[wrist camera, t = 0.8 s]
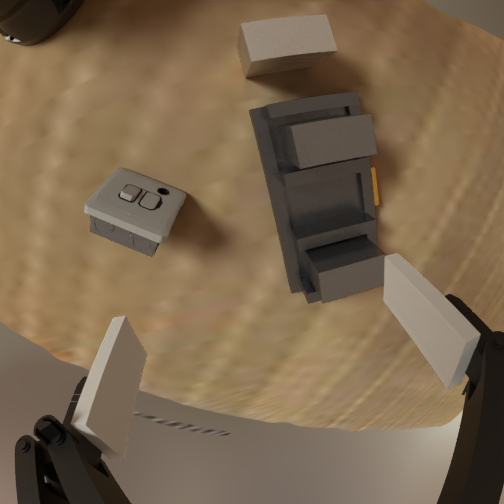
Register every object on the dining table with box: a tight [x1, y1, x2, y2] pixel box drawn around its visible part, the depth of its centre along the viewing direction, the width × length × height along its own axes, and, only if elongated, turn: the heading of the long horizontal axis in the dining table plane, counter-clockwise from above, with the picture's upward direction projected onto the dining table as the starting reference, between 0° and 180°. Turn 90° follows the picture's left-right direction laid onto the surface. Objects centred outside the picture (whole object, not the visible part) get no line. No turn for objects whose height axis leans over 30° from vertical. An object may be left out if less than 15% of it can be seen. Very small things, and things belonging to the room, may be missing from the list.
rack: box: [249, 92, 386, 304], centre depth 32 cm, size 24×14×9 cm, turn 14°
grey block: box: [237, 14, 337, 78], centre depth 24 cm, size 4×8×9 cm, turn 103°
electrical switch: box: [84, 168, 186, 257], centre depth 30 cm, size 9×5×9 cm, turn 65°
